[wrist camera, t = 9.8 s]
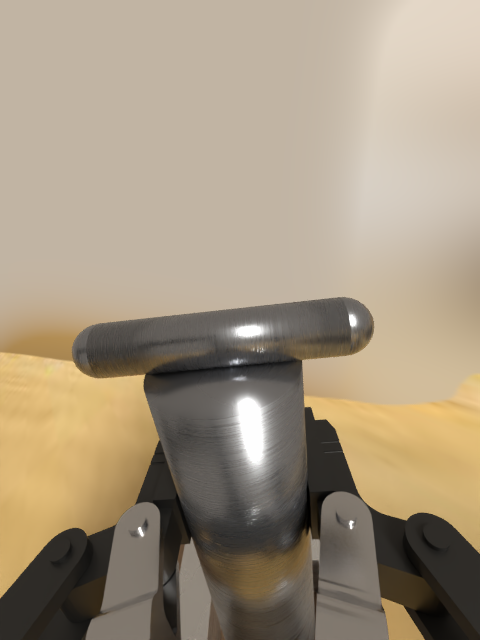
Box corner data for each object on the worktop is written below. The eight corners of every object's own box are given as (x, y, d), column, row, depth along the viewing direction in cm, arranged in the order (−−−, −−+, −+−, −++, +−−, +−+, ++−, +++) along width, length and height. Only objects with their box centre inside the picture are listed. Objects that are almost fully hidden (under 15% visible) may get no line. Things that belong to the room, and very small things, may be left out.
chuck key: (175, 685, 11) (4, 375, 5) (194, 563, 15) (104, 301, 9) (372, 685, 10) (421, 335, 5) (340, 557, 14) (346, 273, 8)
